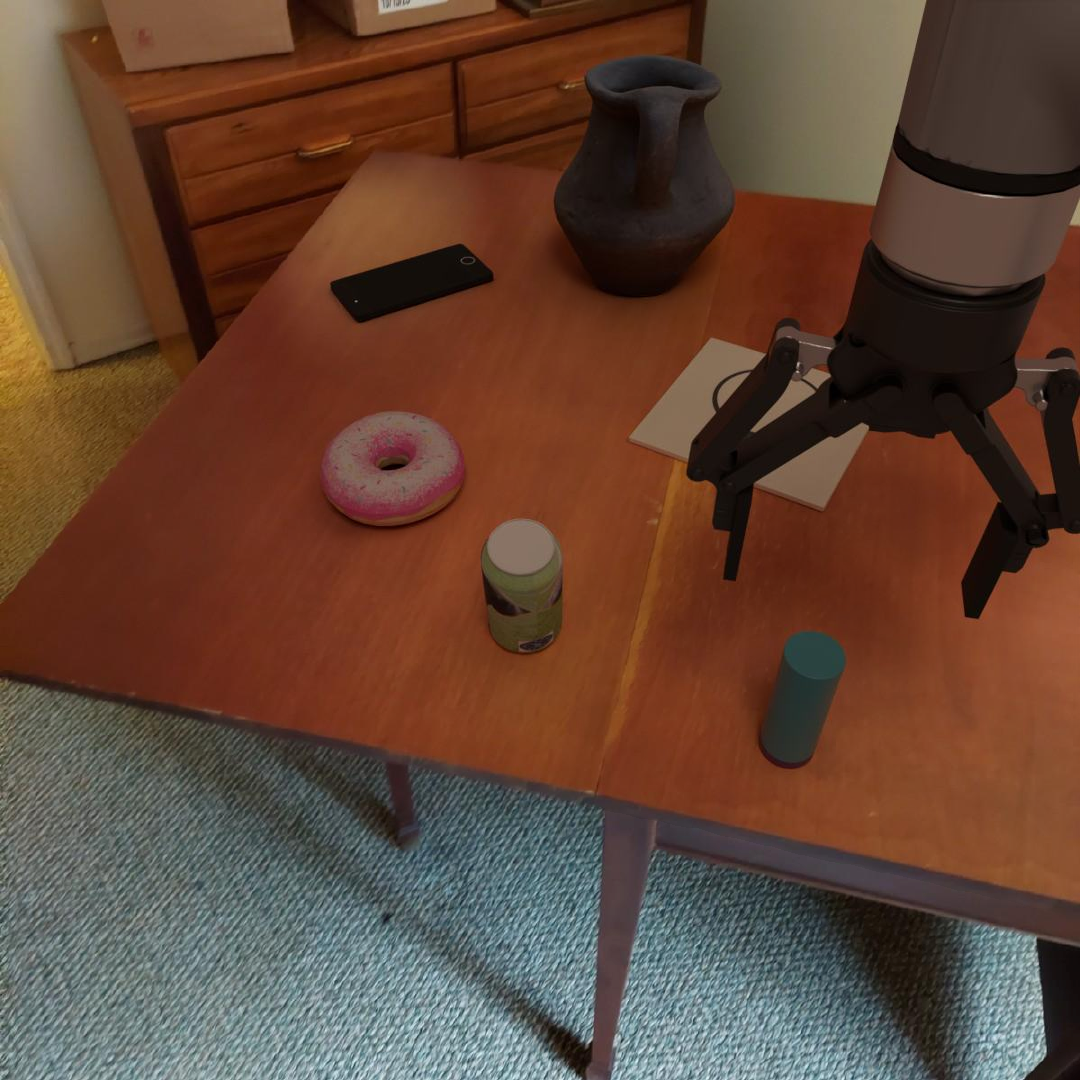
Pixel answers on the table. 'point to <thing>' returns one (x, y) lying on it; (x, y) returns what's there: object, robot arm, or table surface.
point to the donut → (392, 493)
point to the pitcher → (644, 175)
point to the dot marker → (801, 698)
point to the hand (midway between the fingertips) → (847, 582)
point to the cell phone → (410, 281)
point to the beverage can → (523, 585)
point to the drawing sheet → (711, 387)
